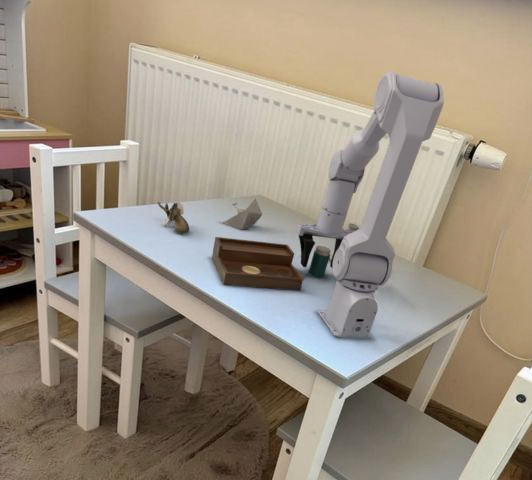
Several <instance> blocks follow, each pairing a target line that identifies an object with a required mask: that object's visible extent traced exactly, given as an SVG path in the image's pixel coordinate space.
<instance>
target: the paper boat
mask: <svg viewBox="0 0 532 480" xmlns="http://www.w3.org/2000/svg"><path fill="white" fill-rule="evenodd" d="M237 204H238V202H234V203H231V205H232V206H233V207H234V208H236V205H237ZM262 216H263V212H262V209H261V208H260V205H259V203H258V200H257V198H255V199H254V200H253V201H252V202H251V203H250V204H249V205H248V206H247V208H245V209H241V208H237V214H235V215H234V216H232V217H231V218H228V219H227V220H225V221H224V222H222V224H224V225H226V226H229V227H232V228H235V229H238V230H245V229H247V228H250V227H252V226H254V225H255V224H256V223H257V222H258V221H259V220H260V219H261V218H262Z"/></svg>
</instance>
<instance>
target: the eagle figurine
mask: <svg viewBox="0 0 532 480" xmlns="http://www.w3.org/2000/svg"><path fill="white" fill-rule="evenodd" d="M157 205H158V207H159V208H161V209H162V210H163V211H164V212H165V214H166V217H167V219H166V221H165V223H164V227H167V226H169V225H170V224H171V223H172V222H175V224H174V225H175V226H174V233H176V234H178V235H185V234H188V233H189V232H190V226H189V223H188V221H187V219H186V218H185V217H183V216H182V215H184V213H185V211H184V206H183V204H182V203H180V202H173V204H172V206H171V207H170V208H169V204H168V203H165V205H164V206H163V205H162V204H161V203H160V201H157Z"/></svg>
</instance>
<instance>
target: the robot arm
mask: <svg viewBox="0 0 532 480" xmlns="http://www.w3.org/2000/svg"><path fill="white" fill-rule="evenodd" d="M444 99H445V98H444V92H443V87H442V85H441V84H440V83H439V82H433V83H432V82H429V81H425V80H421V79H417V78H414V77H411V76H410V77H409V76H407V75H406V76H405V75H402V74H398V73H395V72H394V71H387V72H386V73H385V74H383V76H382V77H381V78H380V80H379V82H378V83H377V86H376V88H375V93H374V97H373V113H372V114H371V115H370V117H369V119H368V121H367V122H366V125H365V126H364V128H363V129H359V130H357V131H356V132H354V133H353V135H352V137H351V138H350V139H349V141H348V142H347V144H346V145H345V146H344V148H343V149H339V150H335V151H334V152H333V154H332V157H331V158H330V161H329V166H328V179H329V180H328V183H327V188H326V192H325V195H324V198H323V203H322V206H321V209H320V212H319V217H318V220H317V223H315V224H313V223H311V224H310V223H309V224H303V223H298V224H297V227H296V231H295V232H296V234H297V235H298V240H299V245H300V265H301V266H302V267H303V268H307V266H308V264H309V259H310V256H311V253H312V250H313V249H314V247H315V245H316V242H315V241H314V237H318V238H325V239H327V238H328V239H333V240H334V239H335V241H334V250H333V252H334V253H333V252H332V253H333V256H332V259H330V263H329V267H330V268H331V269H332V270H331V271H332V274H333V277H334V278H335V280H336V283H335V285H334V289H333V292H332V295H331V299H330V301H329V305H328V308H327V310H322V309H319V310H318V311H317V313H318V315H319V316H320V317H321V319H322V320H323V322H324V323H325V324H326V326H327V328H328V329H329V330H330V331H331V333H332V334H333V336H334V337H336V338H353V339H354V338H356V339H372V337H373V335H372V334H371V328H372V326H373V323H374V321H375V318H376V316H377V313H378V304H377V303H378V302H377V301H376V299H375V296H374V295H375V291H377V292H378V290H379V287H382V286H384V285H385V284H386V283H387V282H388V280H389V279H390V278H391V274H392V271H393V263H394V259H395V256H396V251H395V249H394V247H393V245H392V244H391V242H390V241H389V240H388V239H387V236H388V233H389V231H390V228H391V225H392V224H393V223H392V222H393V220H394V218H395V215H396V212H397V210H398V208H399V204H400V202H401V199H402V197H403V194H404V191H405V188H406V186H407V183H408V181H409V178H410V176H411V173H412V170H413V167H414V164H415V162H416V161H417V157H418V154H419V151H420V149H421V146H422V144H423V142H425V141H429V140H430V139H431V137H432V135H433V132H434V131H435V128H436V126H437V123H438V120H439V118H440V116H441V112H442V110H443V107H444V103H445V102H444V101H445V100H444ZM386 135H388V140H389V141H388V145H387V148H386V151H385V153H384V157H383V159H382V162H381V164H380V168H379V171H378V173H377V177H376V180H375V182H374V186H373V188H372V191H371V194H370V197H369V200H368V203H367V205H366V209H365V211H364V215H363V217H362V220H361V223H360V225H359V226H360V229H358V230H357V231H351V230H347V229H348V228H344V225H345V223H346V218H347V215H348V212H349V208H350V205H351V202H352V199H353V196H354V194H356V192H357V191H358V188H359V185H360V184H361V183H362V181H363V178H364V175H365V172H366V171H365V170H366V167H367V166H368V164H369V163H370V162H371V161H372V160H373V158H374V157H375V156H376V155H377V153H379V150H380V141H381V140H382V139H383V138H384V137H385V136H386Z"/></svg>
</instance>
